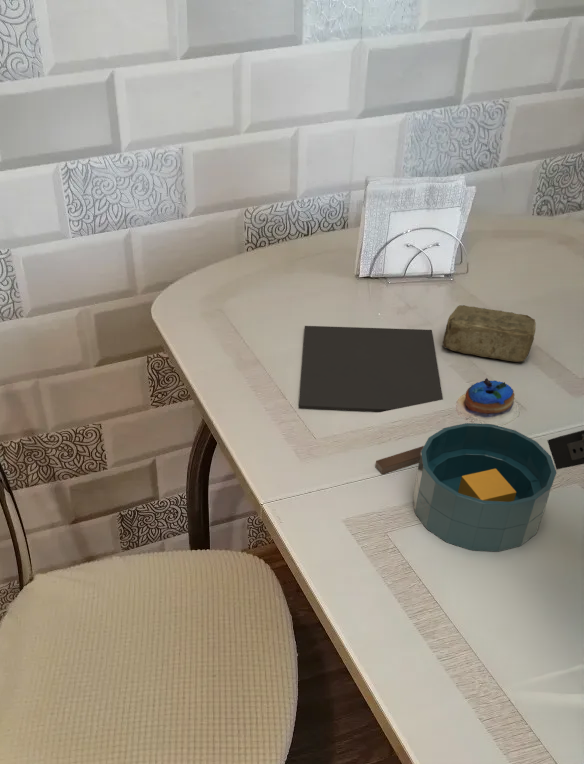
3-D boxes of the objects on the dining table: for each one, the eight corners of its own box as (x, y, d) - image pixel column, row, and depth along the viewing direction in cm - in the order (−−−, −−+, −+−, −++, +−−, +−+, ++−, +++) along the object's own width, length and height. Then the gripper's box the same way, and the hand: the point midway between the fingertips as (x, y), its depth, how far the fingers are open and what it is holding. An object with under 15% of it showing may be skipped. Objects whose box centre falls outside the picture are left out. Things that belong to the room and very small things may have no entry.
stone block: (527, 367, 106) (535, 334, 103) (439, 353, 109) (445, 320, 106) (531, 345, 110) (539, 313, 106) (446, 332, 113) (452, 300, 110)
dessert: (496, 382, 102) (517, 364, 96) (515, 429, 101) (537, 414, 95) (439, 398, 101) (457, 381, 95) (458, 446, 100) (477, 432, 94)
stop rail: (461, 443, 94) (464, 433, 93) (469, 450, 93) (472, 440, 92) (374, 470, 91) (375, 460, 90) (381, 478, 90) (382, 468, 89)
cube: (488, 496, 86) (495, 468, 84) (508, 520, 83) (516, 492, 81) (455, 504, 86) (461, 475, 83) (474, 528, 83) (481, 500, 80)
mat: (431, 332, 113) (431, 329, 113) (444, 415, 99) (445, 411, 98) (304, 328, 115) (304, 325, 115) (298, 408, 101) (298, 405, 100)
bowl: (526, 475, 90) (541, 425, 85) (549, 558, 80) (568, 507, 75) (408, 470, 91) (416, 421, 86) (418, 552, 81) (428, 501, 77)
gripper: (763, 479, 46) (511, 514, 69) (916, 422, 49) (628, 473, 72) (722, 356, 46) (484, 431, 69) (878, 308, 50) (603, 394, 72)
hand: (558, 452), depth 70 cm, fingers closed
